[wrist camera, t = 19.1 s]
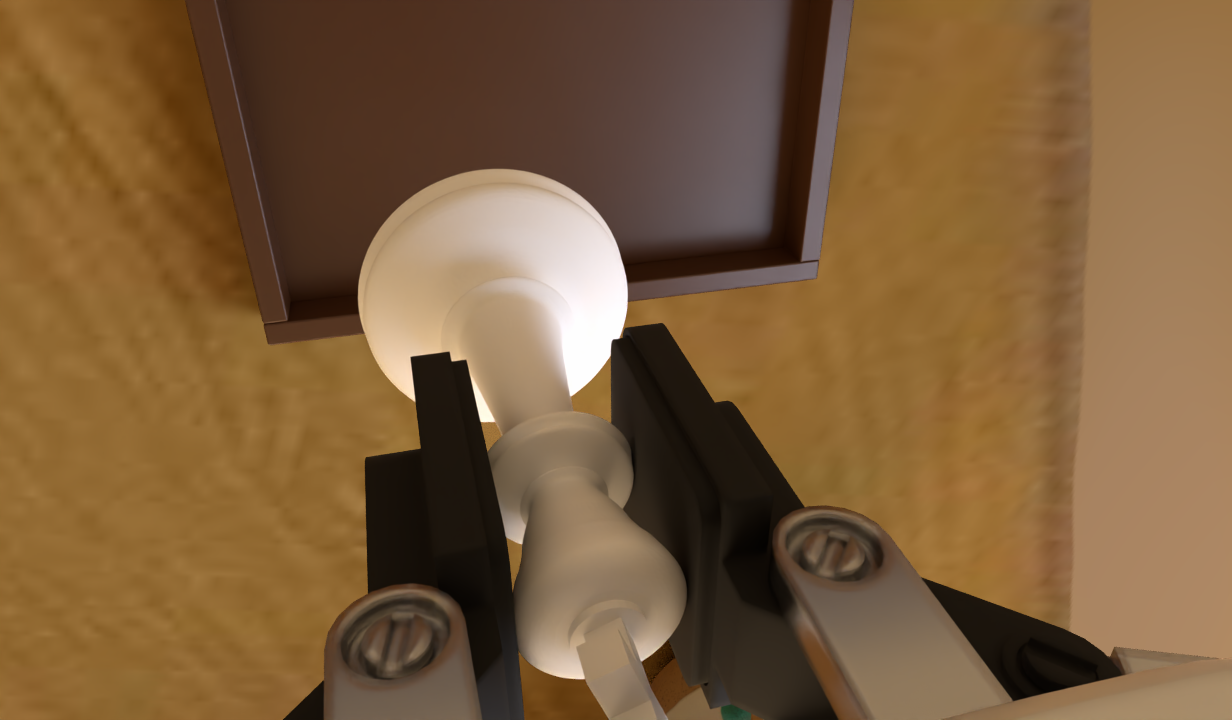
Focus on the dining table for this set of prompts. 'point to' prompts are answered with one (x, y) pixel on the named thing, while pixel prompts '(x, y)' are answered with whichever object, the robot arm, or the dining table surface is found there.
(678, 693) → the vase
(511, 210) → the chess piece
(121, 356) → the dining table surface
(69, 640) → the dining table surface
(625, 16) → the tray
